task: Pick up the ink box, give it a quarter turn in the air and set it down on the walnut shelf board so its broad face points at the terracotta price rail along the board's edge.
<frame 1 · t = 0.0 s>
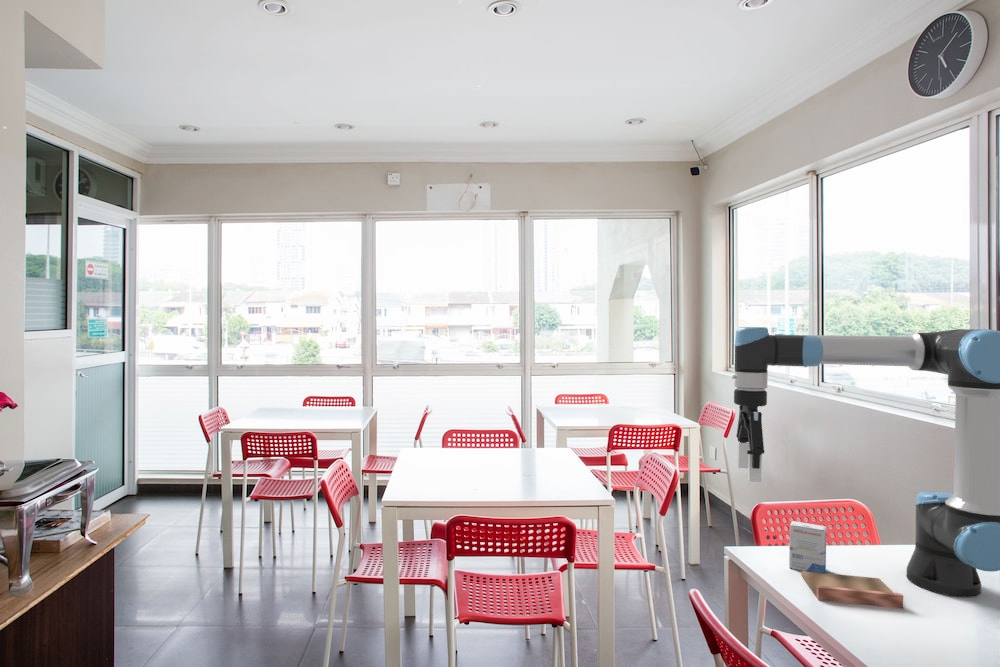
hand: (748, 474, 146), 28 cm above the table, fingers open, 13 cm apart
shelf board: (848, 590, 144), on the table
ink box: (807, 569, 157), on the table
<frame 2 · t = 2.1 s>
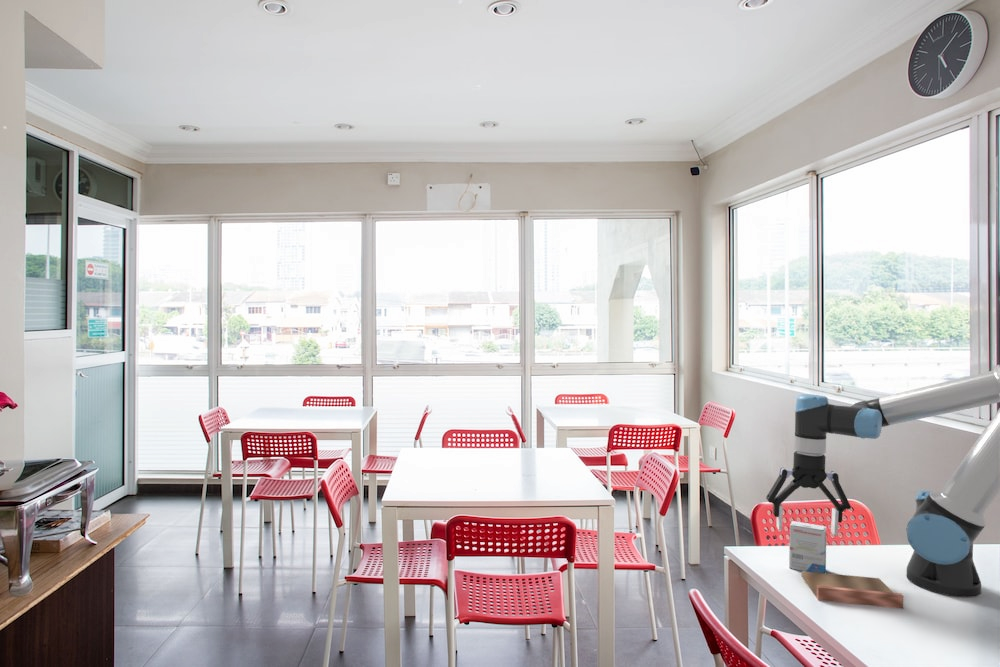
hand: (806, 531, 157), 10 cm above the table, fingers open, 13 cm apart
nothing on the table moved.
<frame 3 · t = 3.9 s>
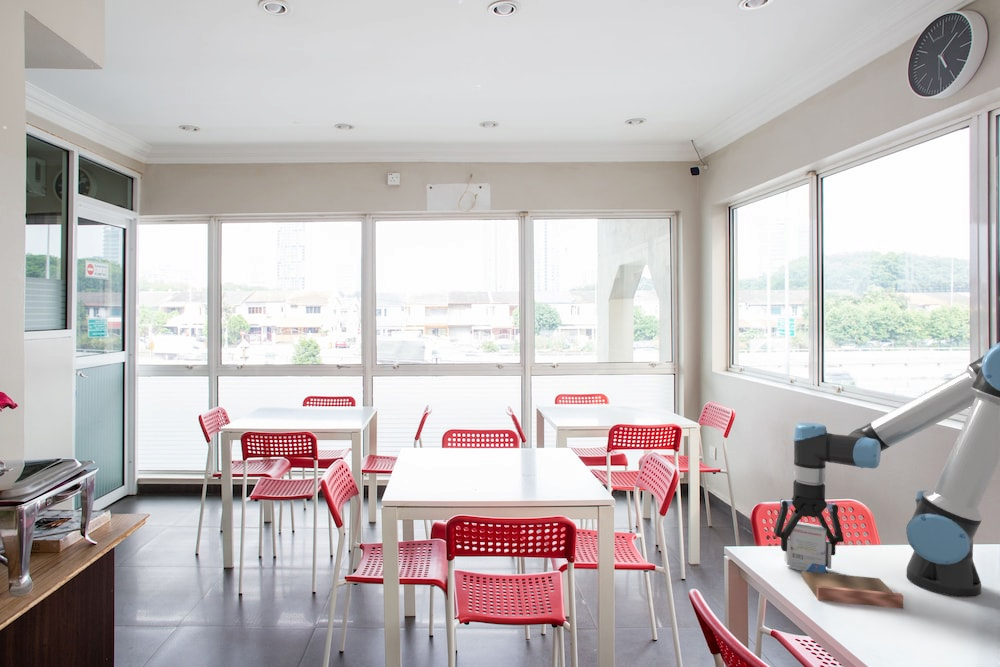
hand: (807, 564, 157), 1 cm above the table, fingers closed on ink box, 9 cm apart
ink box: (807, 569, 157), on the table, touching gripper
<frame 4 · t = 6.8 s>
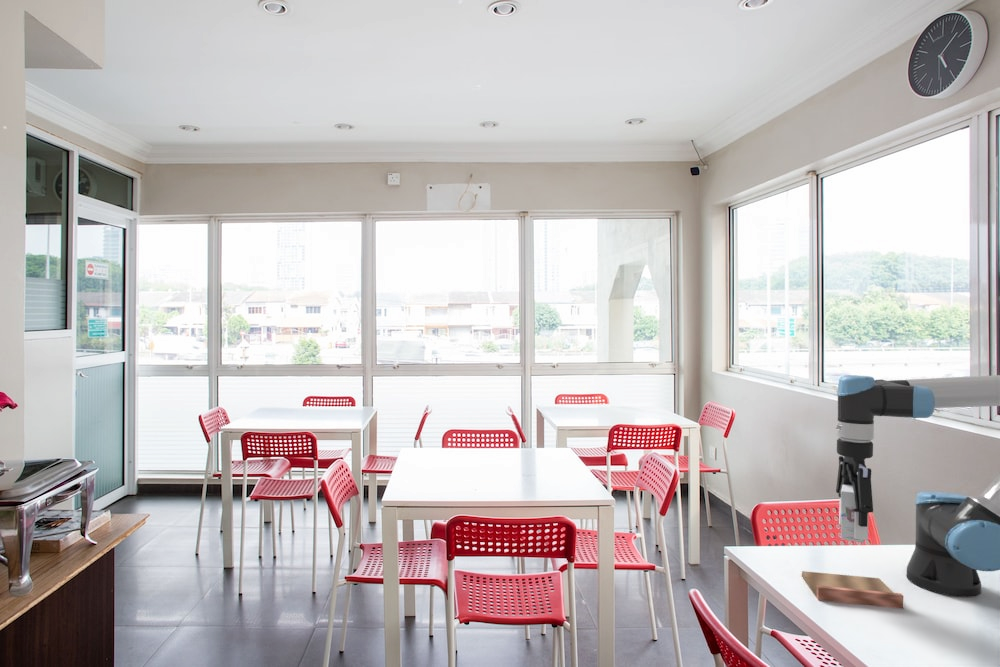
hand: (852, 531, 142), 15 cm above the table, fingers closed on ink box, 9 cm apart
ink box: (852, 536, 142), point 14 cm above the table, touching gripper
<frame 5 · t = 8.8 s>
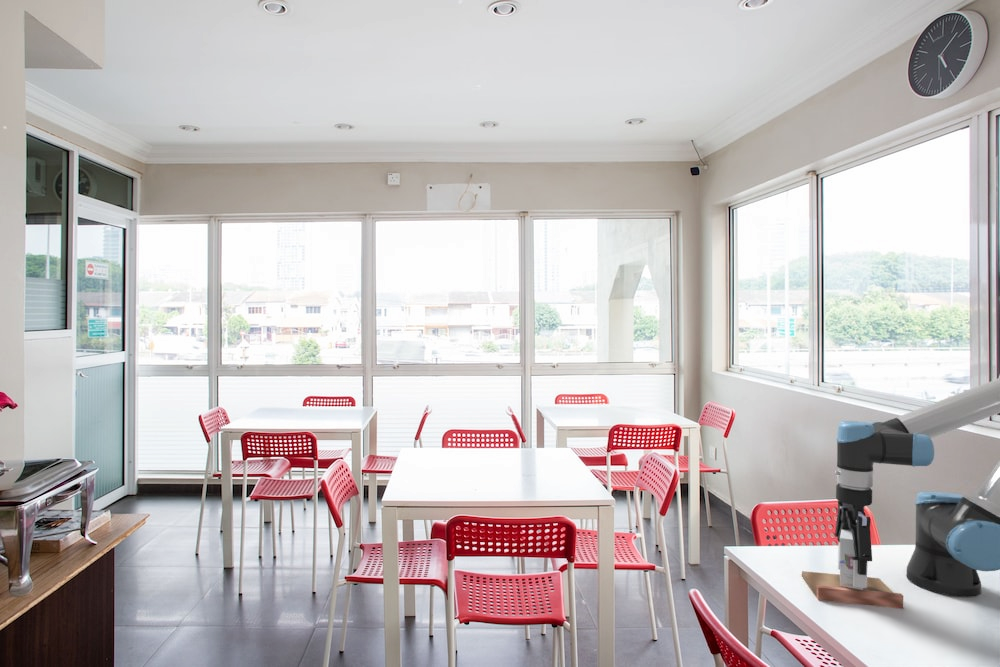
hand: (851, 577, 142), 4 cm above the table, fingers closed on ink box, 9 cm apart
ink box: (851, 582, 142), point 3 cm above the table, touching gripper, shelf board
when the fingers open (4 cm above the table, at t = 9.8 s): ink box stays where it is, resting on shelf board.
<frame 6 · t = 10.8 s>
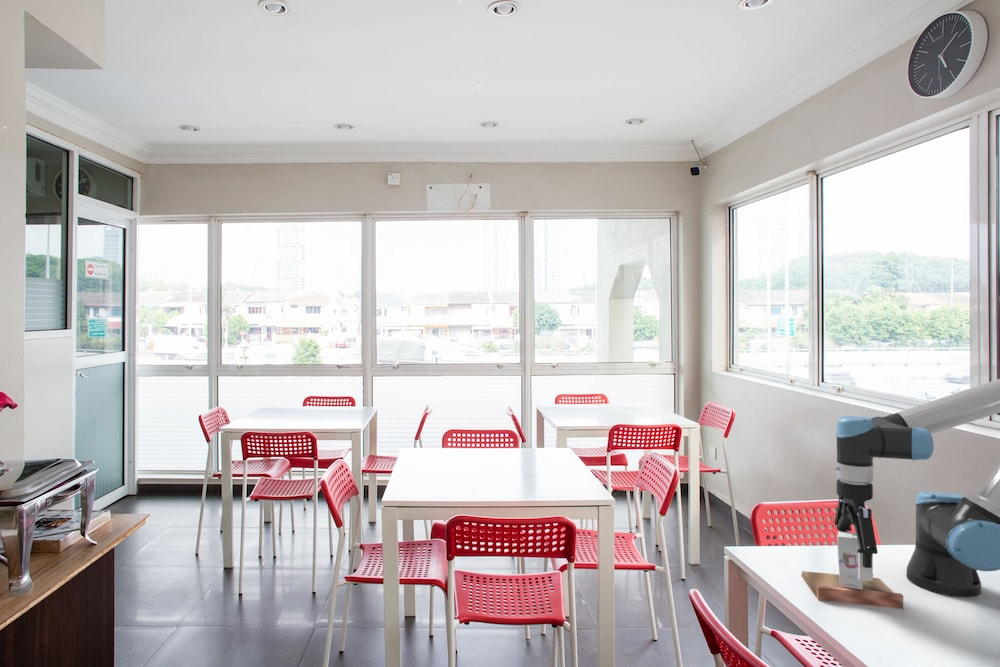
hand: (854, 568, 142), 6 cm above the table, fingers open, 13 cm apart
ink box: (851, 585, 142), point 2 cm above the table, touching gripper, shelf board
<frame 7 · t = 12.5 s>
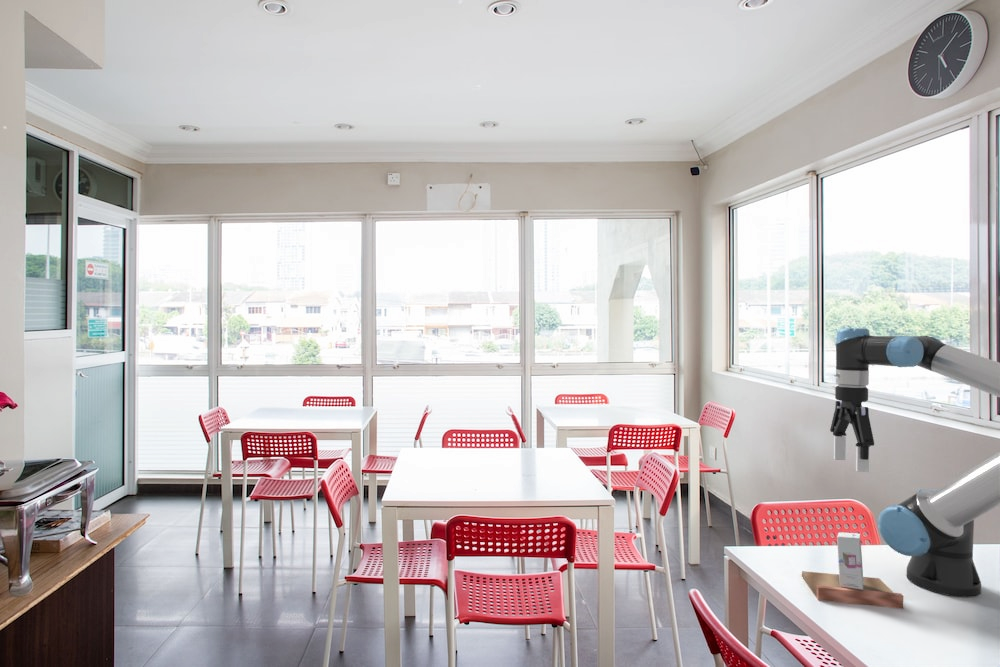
hand: (850, 465, 156), 28 cm above the table, fingers open, 13 cm apart
ink box: (851, 585, 142), point 2 cm above the table, touching shelf board
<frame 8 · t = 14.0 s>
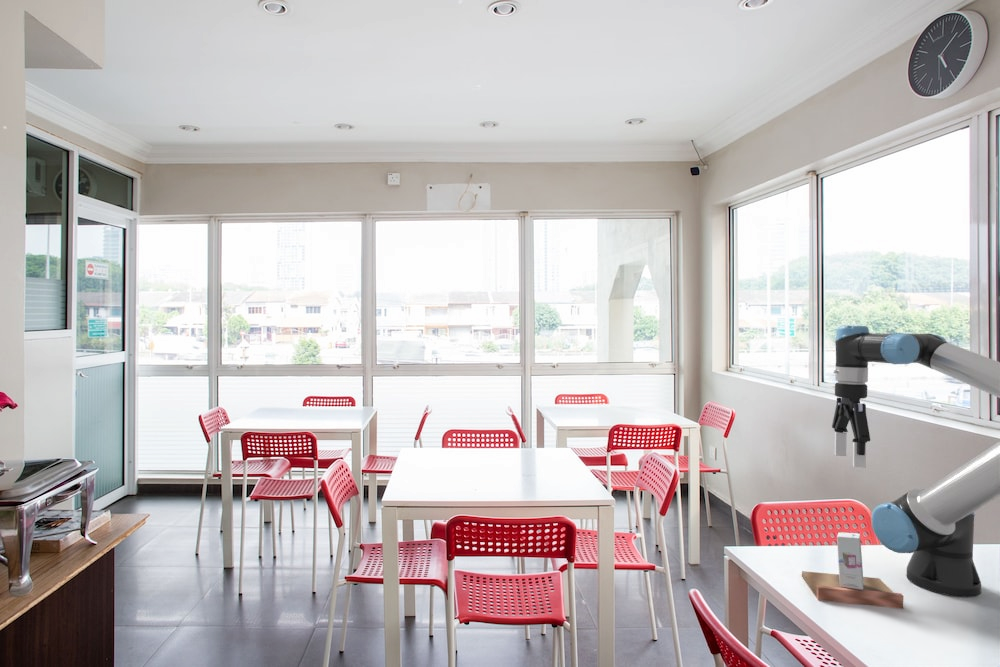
hand: (849, 461, 158), 29 cm above the table, fingers open, 13 cm apart
nothing on the table moved.
at the end: ink box inside the target area (0.3 cm from its centre), point 2.1 cm above the table; ink box tilted 10°; the gripper is holding nothing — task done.
